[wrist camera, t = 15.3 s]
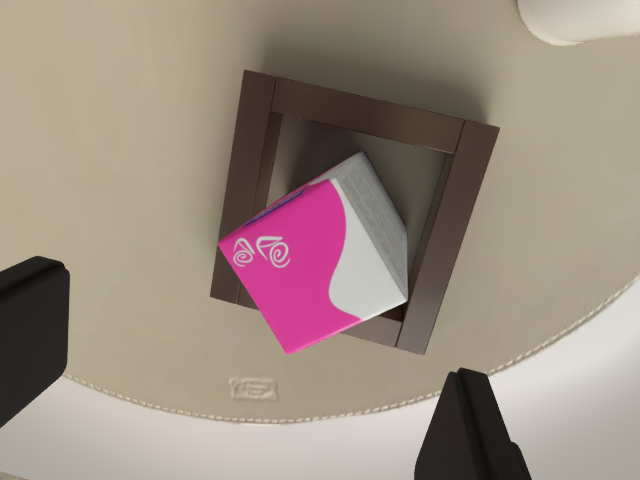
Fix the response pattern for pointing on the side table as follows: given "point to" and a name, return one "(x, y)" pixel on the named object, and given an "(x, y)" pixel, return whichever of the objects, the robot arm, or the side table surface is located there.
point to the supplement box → (323, 255)
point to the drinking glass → (580, 19)
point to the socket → (378, 120)
